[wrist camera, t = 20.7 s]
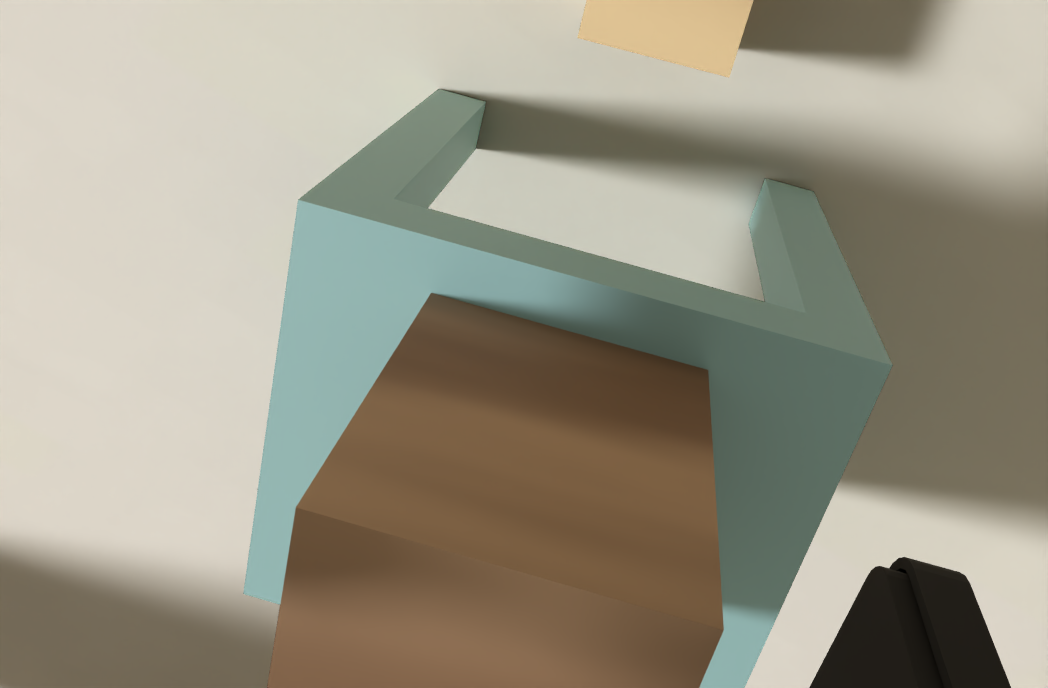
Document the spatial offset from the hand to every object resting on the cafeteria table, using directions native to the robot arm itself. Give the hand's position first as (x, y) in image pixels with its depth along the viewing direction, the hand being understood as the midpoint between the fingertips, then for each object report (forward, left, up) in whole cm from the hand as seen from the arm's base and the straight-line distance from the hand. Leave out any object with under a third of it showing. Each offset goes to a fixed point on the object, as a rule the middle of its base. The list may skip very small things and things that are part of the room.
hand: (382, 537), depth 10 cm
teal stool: (+3, +1, -16) cm, 16 cm away
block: (+2, +1, -6) cm, 7 cm away
